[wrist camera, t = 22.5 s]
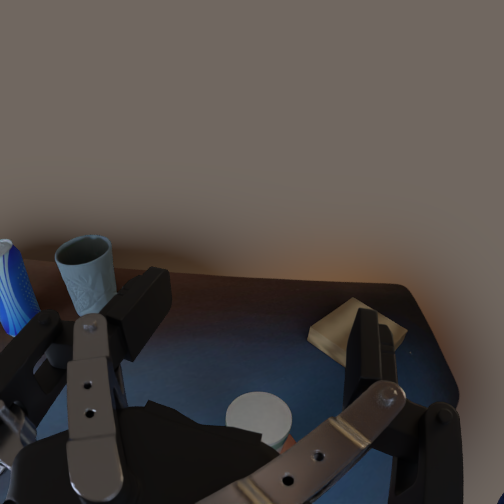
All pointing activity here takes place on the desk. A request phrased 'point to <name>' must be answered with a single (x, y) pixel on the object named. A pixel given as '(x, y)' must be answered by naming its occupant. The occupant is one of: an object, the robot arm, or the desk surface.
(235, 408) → the canister
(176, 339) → the desk surface
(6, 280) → the beer can
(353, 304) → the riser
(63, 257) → the embossed ceramic tumbler
